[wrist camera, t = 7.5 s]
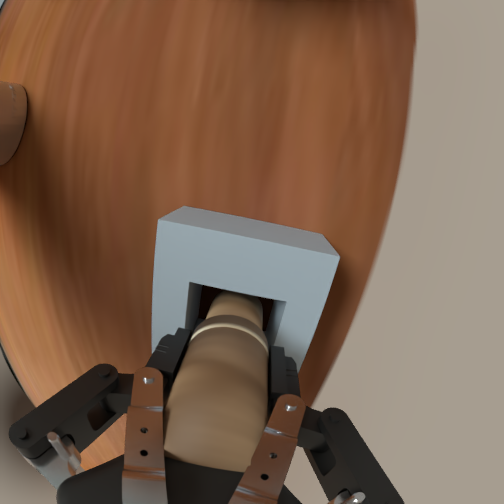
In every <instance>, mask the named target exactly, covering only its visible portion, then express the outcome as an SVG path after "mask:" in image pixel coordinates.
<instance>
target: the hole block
mask: <svg viewBox="0 0 504 504" xmlns="http://www.w3.org/2000/svg"><path fill="white" fill-rule="evenodd" d="M339 259H340V256H339V255H338V253H337V252H336V251H335V250H334V248H333V247H332V246H331V245H330V243H329V242H328V241H327V240H326V238H325V237H324V236H323V235H322V234H319V233H315V232H310V231H306V230H301V229H297V228H292V227H288V226H283V225H278V224H274V223H269V222H264V221H259V220H254V219H250V218H245V217H240V216H235V215H230V214H225V213H219V212H214V211H209V210H204V209H198V208H193V207H188V206H183V207H181V208H179V209H177V210H175V211H173V212H171V213H169V214H167V215H166V216H164V217H162V218H160V219H158V226H157V236H156V247H155V259H154V275H153V295H152V354H153V352H154V350H155V348H156V347H157V345H158V343H159V341H160V340H161V338H162V337H164V336H165V335H167V334H171V335H175V333H176V331H177V329H178V328H179V327H180V328H184V329H189V330H192V336H193V333H194V331H195V329H196V328H197V326H198V325H199V324H200V323H201V322H203V321H204V320H205V319H201V318H198V315H199V307H200V300H201V292H202V285H206V286H211V287H216V288H220V289H225V290H230V291H235V292H239V293H244V294H249V295H254V296H259V297H265V298H270V299H274V302H273V306H272V310H271V313H270V317H269V321H268V324H267V328H266V332H265V331H263V333H264V334H265V336H266V338H267V341H268V351H269V348H270V346H271V345H273V346H280V347H284V350H285V356H287V357H292V358H293V359H294V361H295V362H296V364H297V372H299V370H300V368H301V365H302V363H303V360H304V358H305V355H306V353H307V350H308V348H309V345H310V343H311V340H312V338H313V335H314V332H315V330H316V327H317V324H318V322H319V319H320V316H321V313H322V310H323V308H324V305H325V302H326V299H327V296H328V293H329V290H330V287H331V284H332V281H333V278H334V275H335V272H336V268H337V265H338V262H339Z"/></svg>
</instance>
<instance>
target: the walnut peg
mask: <svg viewBox="0 0 504 504" xmlns="http://www.w3.org/2000/svg"><path fill="white" fill-rule="evenodd" d="M262 324H263V308H262V304H261V302H260V300H259V299H258V297H257V296H254V295H249V294H244V293H239V292H235V291H230V290H223V291H221V292H220V293H218V294H217V295H216V296H215V298H214V299H213V301H212V304H211V307H210V309H209V312H208V315H207V317H206V320H204V321H203V322H201V323H200V324H199V325H198V326H197V328H196V329H195V331H194V333H193V336H192V337H191V339H190V341H189V343H188V348H187V350H186V353H185V355H184V358H183V360H182V363H181V365H180V368H179V370H178V373H177V375H176V378H175V380H174V383H173V385H172V388H171V390H170V393H169V396H168V398H167V401H166V403H165V406H164V408H163V447H164V455H165V457H168V458H171V459H175V460H179V461H183V462H187V463H192V464H196V465H201V466H206V467H212V468H217V469H224V470H230V471H238V472H245V471H246V469H247V467H248V466H251V458H252V456H253V454H254V452H255V450H256V448H257V445H258V443H259V441H260V439H261V437H262V434H263V432H264V430H265V428H266V426H267V423H268V362H269V351H268V341H267V338H266V336H265V334H264V333H263V331H262Z"/></svg>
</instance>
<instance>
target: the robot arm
mask: <svg viewBox="0 0 504 504" xmlns="http://www.w3.org/2000/svg"><path fill="white" fill-rule="evenodd" d="M26 115H27V97H26V92H25V90H24V88H23V87H22V86H21V85H19V84H15V83H9V82H3V81H0V165H3V164H5V163H6V162H8V161H9V159H10V158H11V157H12V156H13V154H14V152H15V151H16V149H17V147H18V144H19V142H20V139H21V136H22V133H23V130H24V126H25V121H26ZM191 337H192V330H189V329H184V328H180V327H179V328H178V329H177V331H176V333H175V335H171V334H167V335H165V336H164V337H162V338H161V340H160V341H159V343H158V345H157V347H156V348H155V350H154V352H153V354H152V356H151V357H150V359H149V361H148V363H147V365H146V366H145V367H144V368H140V369H138V370H137V371H136V372H135V374H121V373H118V371H117V369H116V368H115V367H114V366H112V365H110V364H98V365H96V366H94V367H93V368H92V369H90V370H89V371H87V372H86V373H85V374H83V375H82V376H80V377H79V378H78V379H76V380H75V381H73V382H72V383H71V384H69V385H68V386H66V387H65V388H63V389H62V390H61V391H59V392H58V393H56V394H55V395H54V396H52V397H51V398H49V399H48V400H46V401H45V402H44V403H42V404H41V405H39V406H38V407H37V408H35V409H34V410H33V411H31V412H30V413H28V414H27V415H25V416H24V417H23V418H21V419H20V420H18V421H17V422H15V423H14V424H13V425H12V426H11V427H10V429H9V438H10V440H11V442H12V443H13V444H14V446H15V447H16V448H17V449H18V451H19V452H20V453H21V455H22V456H23V457H24V458H25V459H26V460H27V461H28V462H29V463H30V464H31V465H32V466H33V467H34V468H35V469H36V470H37V471H38V472H39V473H40V474H42V475H43V476H44V477H45V478H46V479H47V480H48V481H49V482H50V483H51V484H52V485H53V486H54V487H55V488H56V489H57V497H56V499H57V504H302V503H301V502H300V501H299V500H298V499H297V498H296V497H295V496H294V495H293V494H292V493H291V492H290V491H289V490H288V488H287V487H286V486H285V485H284V481H285V478H286V475H287V472H288V469H289V467H290V464H291V461H292V457H293V455H294V451H295V448H296V446H299V447H303V449H304V451H305V453H306V455H307V457H308V459H309V462H310V463H311V466H312V468H313V470H314V472H315V474H316V476H317V478H318V480H319V482H320V484H321V486H322V488H323V490H324V492H325V494H326V496H327V498H328V500H329V502H328V504H404V501H403V500H402V498H401V497H400V495H399V494H398V492H397V491H396V489H395V488H394V486H393V484H392V483H391V482H390V480H389V478H388V477H387V476H386V474H385V472H384V471H383V469H382V468H381V466H380V465H379V463H378V462H377V460H376V459H375V457H374V456H373V454H372V453H371V451H370V450H369V448H368V446H367V445H366V443H365V442H364V440H363V439H362V437H361V436H360V434H359V433H358V431H357V429H356V428H355V426H354V425H353V423H352V422H351V420H350V419H349V417H348V416H347V414H346V413H345V412H344V411H342V410H341V409H338V408H327V409H325V410H324V411H323V412H320V411H317V410H314V409H311V408H309V407H307V406H306V404H305V402H304V401H303V399H301V397H300V389H299V380H298V372H297V364H296V362H295V361H294V359H293V358H292V357H287V356H285V350H284V347H280V346H273V345H271V346H270V348H269V362H268V423H267V426H266V428H265V430H264V432H263V434H262V437H261V439H260V441H259V443H258V445H257V448H256V450H255V452H254V454H253V456H252V458H251V466H248V467H247V469H246V471H245V472H238V471H230V470H224V469H217V468H212V467H206V466H201V465H196V464H192V463H187V462H183V461H179V460H175V459H171V458H168V457H165V455H164V447H163V408H164V406H165V403H166V401H167V398H168V396H169V393H170V390H171V388H172V385H173V383H174V380H175V378H176V375H177V373H178V370H179V368H180V365H181V363H182V360H183V358H184V355H185V353H186V350H187V348H188V343H189V341H190V339H191ZM124 413H127V422H126V435H125V452H124V454H123V455H121V456H119V457H117V458H114V459H112V460H110V461H108V462H106V463H103V464H101V465H99V466H96V467H94V468H92V469H89V470H87V471H84V472H82V473H79V474H77V475H76V470H77V468H78V467H79V465H80V464H81V455H80V453H81V452H82V451H83V450H84V449H85V448H87V447H88V446H89V445H90V444H91V443H92V442H93V441H94V440H95V439H97V438H98V437H99V436H100V435H101V434H102V433H103V432H104V431H105V430H106V429H108V428H109V427H110V426H111V425H112V424H113V423H114V422H115V421H116V420H117V419H118V418H120V417H121V416H122V415H123V414H124Z"/></svg>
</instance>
